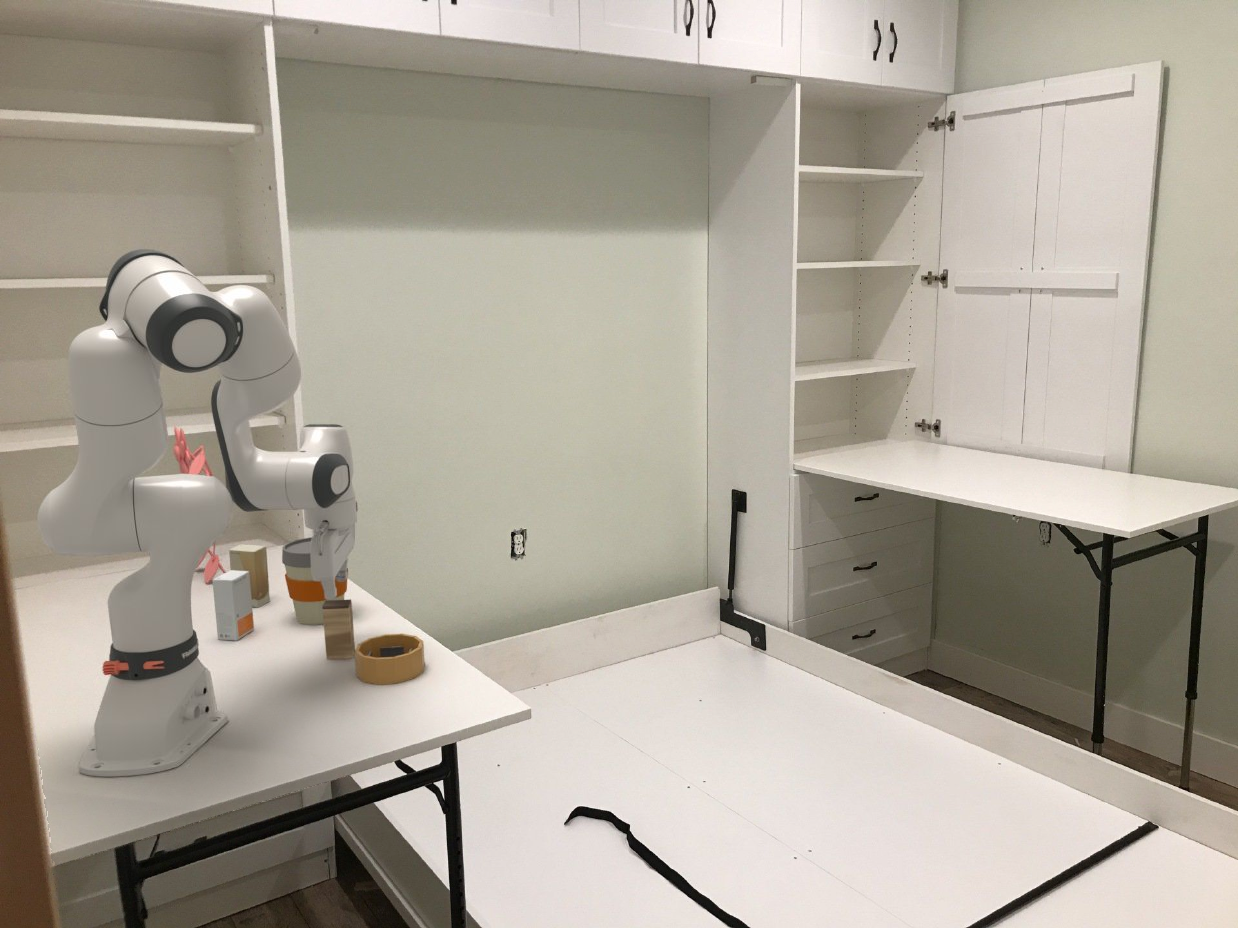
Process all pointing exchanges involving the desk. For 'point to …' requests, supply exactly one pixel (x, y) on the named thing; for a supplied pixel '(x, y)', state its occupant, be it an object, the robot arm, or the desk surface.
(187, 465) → the pink branch
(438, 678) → the desk surface
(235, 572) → the skincare box
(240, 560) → the skincare box
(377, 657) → the bowl
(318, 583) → the reusable coffee cup
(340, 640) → the tall wooden block
